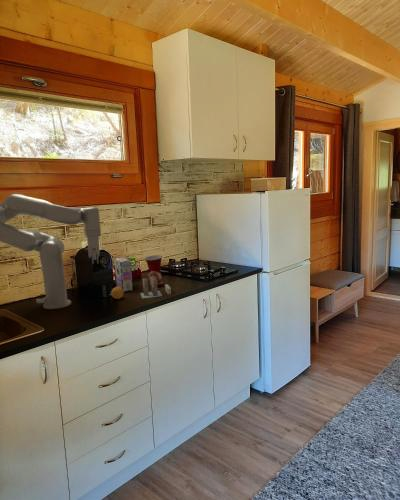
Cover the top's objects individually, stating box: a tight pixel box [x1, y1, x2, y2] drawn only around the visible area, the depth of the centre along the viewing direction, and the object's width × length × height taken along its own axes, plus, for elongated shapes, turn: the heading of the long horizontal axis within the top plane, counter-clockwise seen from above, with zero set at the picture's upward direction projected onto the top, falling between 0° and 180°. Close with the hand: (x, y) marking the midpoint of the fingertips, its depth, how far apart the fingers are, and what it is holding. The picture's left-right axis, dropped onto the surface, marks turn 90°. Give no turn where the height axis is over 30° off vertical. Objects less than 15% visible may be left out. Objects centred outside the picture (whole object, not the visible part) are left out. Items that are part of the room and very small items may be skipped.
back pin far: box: [150, 277, 155, 293], centre depth 195 cm, size 2×2×8 cm
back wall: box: [164, 283, 172, 295], centre depth 196 cm, size 2×9×3 cm, turn 15°
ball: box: [110, 286, 125, 300], centre depth 189 cm, size 6×6×6 cm
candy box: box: [113, 257, 134, 292], centre depth 207 cm, size 14×6×16 cm, turn 26°
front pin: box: [142, 278, 149, 296], centre depth 192 cm, size 2×2×8 cm
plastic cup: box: [144, 254, 163, 273], centre depth 235 cm, size 11×11×12 cm
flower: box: [147, 271, 164, 287], centre depth 211 cm, size 10×9×8 cm
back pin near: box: [152, 279, 159, 296], centre depth 190 cm, size 2×2×8 cm
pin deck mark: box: [140, 290, 163, 299], centre depth 193 cm, size 10×10×1 cm
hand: (96, 270), depth 184 cm, fingers open, 2 cm apart
